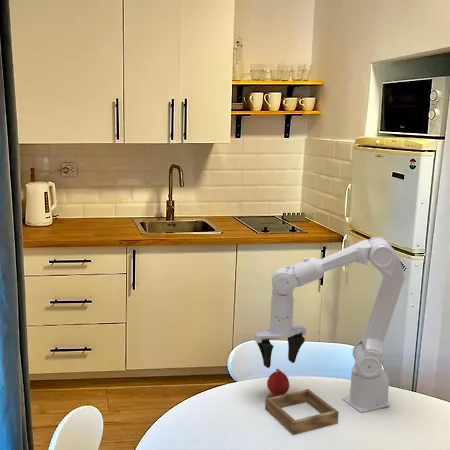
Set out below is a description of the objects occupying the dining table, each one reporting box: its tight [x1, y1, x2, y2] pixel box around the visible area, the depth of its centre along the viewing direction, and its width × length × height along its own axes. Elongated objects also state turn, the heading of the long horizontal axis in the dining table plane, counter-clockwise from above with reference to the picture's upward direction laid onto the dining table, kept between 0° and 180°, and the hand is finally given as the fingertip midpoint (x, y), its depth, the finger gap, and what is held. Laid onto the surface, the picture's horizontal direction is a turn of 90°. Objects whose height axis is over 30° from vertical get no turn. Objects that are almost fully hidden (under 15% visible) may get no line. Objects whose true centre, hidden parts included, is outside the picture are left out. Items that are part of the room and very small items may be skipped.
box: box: [264, 388, 340, 436], centre depth 147 cm, size 13×13×3 cm
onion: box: [266, 368, 290, 397], centre depth 156 cm, size 6×6×8 cm
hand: (279, 363), depth 155 cm, fingers open, 7 cm apart
